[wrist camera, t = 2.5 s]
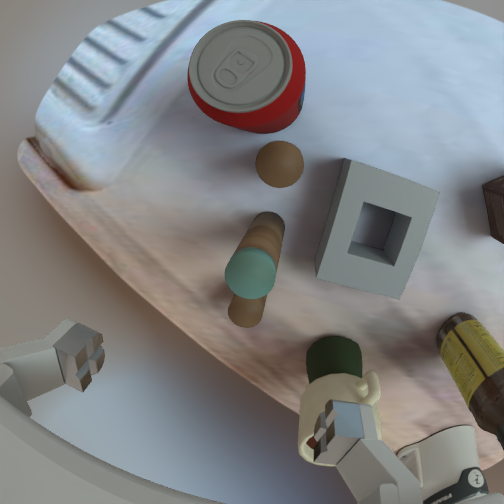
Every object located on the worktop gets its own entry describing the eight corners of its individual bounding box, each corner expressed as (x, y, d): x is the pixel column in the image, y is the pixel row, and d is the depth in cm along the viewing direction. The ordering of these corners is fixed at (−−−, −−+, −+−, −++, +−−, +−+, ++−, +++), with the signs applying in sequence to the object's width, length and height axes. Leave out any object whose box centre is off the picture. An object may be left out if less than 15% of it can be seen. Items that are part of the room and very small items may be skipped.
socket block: (388, 280, 28) (399, 299, 24) (314, 260, 28) (316, 278, 25) (422, 185, 24) (439, 192, 21) (343, 158, 25) (351, 160, 21)
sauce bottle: (445, 361, 30) (499, 489, 12) (426, 334, 29) (489, 478, 11) (483, 329, 28) (556, 445, 9) (468, 299, 27) (558, 425, 9)
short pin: (264, 303, 31) (257, 331, 26) (236, 296, 31) (225, 322, 26) (271, 278, 30) (265, 303, 25) (242, 270, 30) (231, 294, 25)
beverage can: (319, 96, 23) (334, 59, 12) (268, 149, 26) (244, 152, 14) (261, 50, 22) (233, -10, 11) (212, 103, 25) (152, 78, 14)
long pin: (280, 246, 28) (268, 304, 18) (249, 238, 29) (220, 291, 18) (288, 216, 27) (280, 260, 17) (256, 208, 28) (229, 247, 17)
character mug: (332, 392, 34) (336, 479, 22) (283, 373, 34) (271, 464, 22) (386, 330, 30) (416, 420, 18) (332, 305, 30) (345, 399, 18)
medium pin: (297, 179, 26) (297, 193, 19) (265, 171, 26) (251, 181, 19) (305, 147, 25) (308, 147, 18) (272, 139, 25) (261, 135, 18)
